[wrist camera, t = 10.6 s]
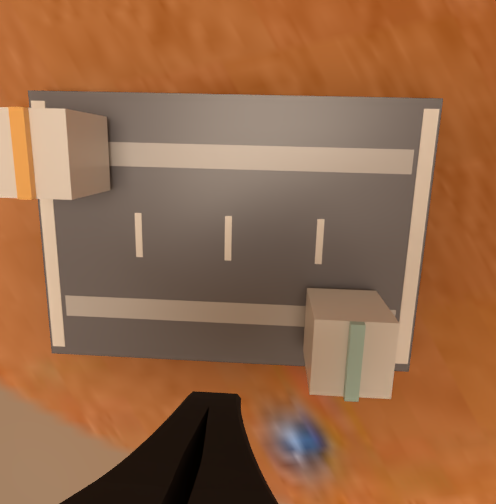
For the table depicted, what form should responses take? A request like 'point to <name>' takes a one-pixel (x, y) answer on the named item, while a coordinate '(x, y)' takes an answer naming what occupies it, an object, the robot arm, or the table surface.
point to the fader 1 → (52, 153)
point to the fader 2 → (349, 344)
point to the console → (237, 222)
